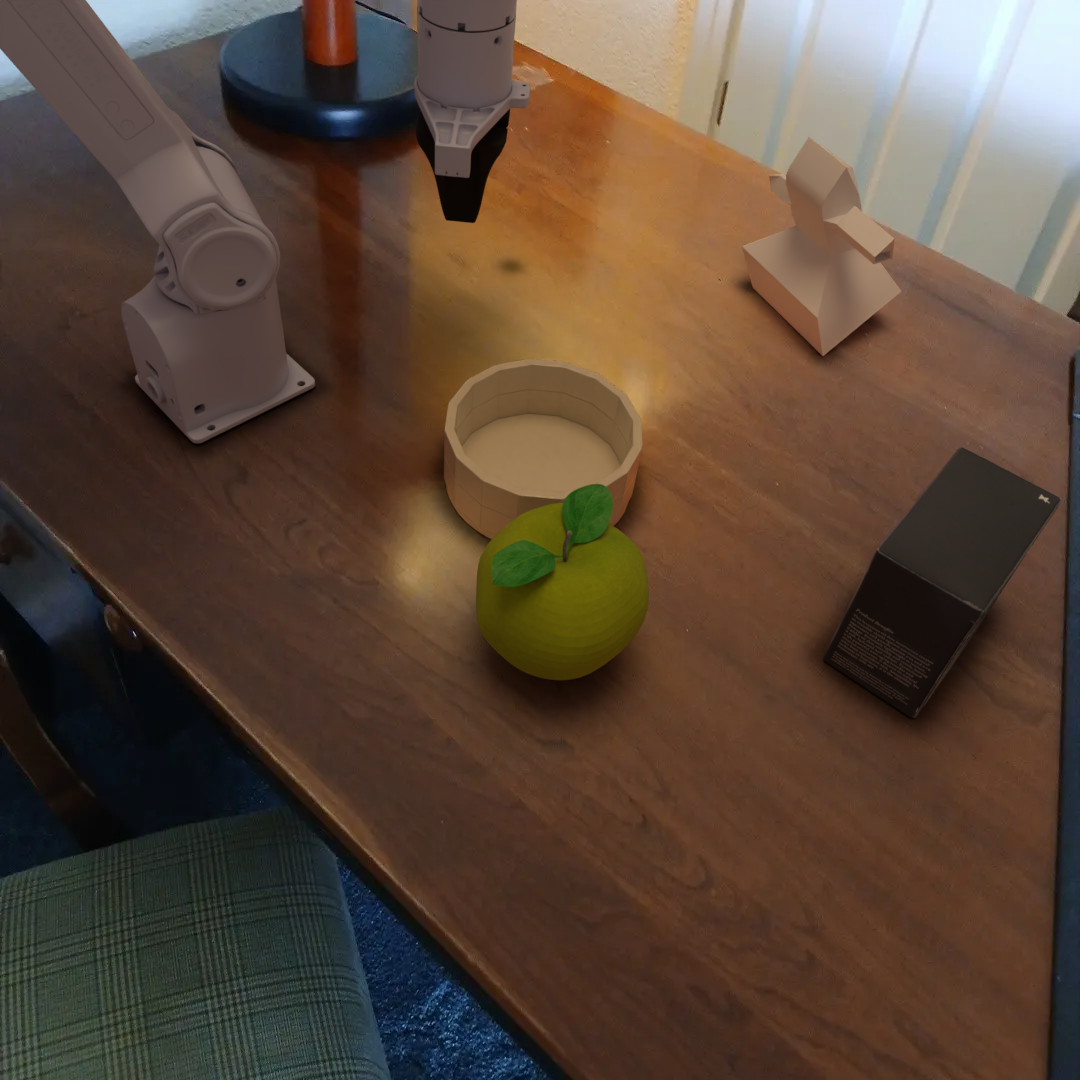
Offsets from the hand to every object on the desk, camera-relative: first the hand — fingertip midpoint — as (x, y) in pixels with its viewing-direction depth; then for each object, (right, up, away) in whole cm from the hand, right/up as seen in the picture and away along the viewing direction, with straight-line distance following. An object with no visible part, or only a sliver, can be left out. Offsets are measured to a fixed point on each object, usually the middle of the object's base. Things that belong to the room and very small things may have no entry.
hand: (461, 216), depth 71 cm
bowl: (+5, -18, -2) cm, 19 cm away
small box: (+27, -28, -8) cm, 40 cm away
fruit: (+6, -28, -10) cm, 31 cm away
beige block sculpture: (+27, -3, +13) cm, 30 cm away
